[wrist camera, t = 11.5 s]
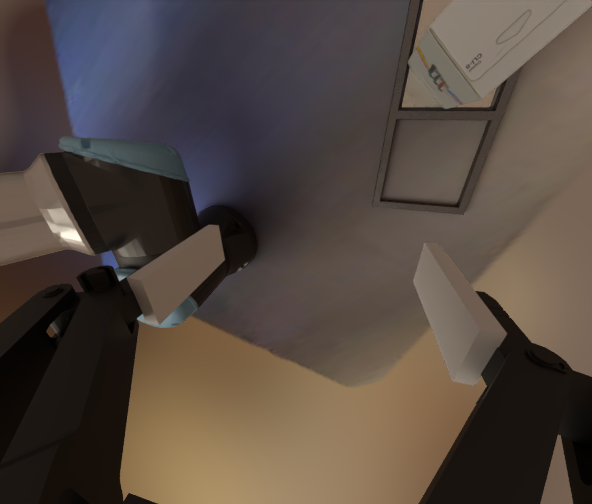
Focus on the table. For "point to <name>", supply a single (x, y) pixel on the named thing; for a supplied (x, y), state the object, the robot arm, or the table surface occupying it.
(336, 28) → the table surface
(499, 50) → the ink box
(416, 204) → the grey flat rectangular frame
